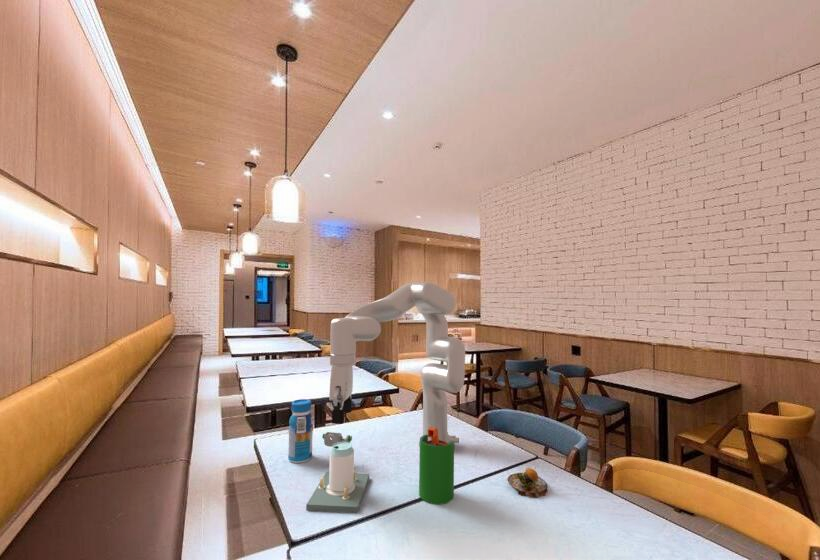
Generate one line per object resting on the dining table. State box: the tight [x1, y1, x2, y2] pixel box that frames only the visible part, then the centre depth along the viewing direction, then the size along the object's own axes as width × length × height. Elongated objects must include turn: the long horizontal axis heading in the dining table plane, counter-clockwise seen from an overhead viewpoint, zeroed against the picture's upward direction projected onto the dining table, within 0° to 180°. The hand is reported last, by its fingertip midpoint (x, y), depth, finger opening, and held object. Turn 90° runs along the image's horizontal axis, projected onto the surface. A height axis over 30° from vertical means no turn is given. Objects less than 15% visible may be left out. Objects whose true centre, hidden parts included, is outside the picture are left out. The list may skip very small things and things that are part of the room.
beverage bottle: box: [287, 398, 314, 464], centre depth 128 cm, size 8×8×20 cm
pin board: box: [305, 470, 370, 513], centre depth 105 cm, size 14×18×4 cm
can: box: [328, 442, 355, 492], centre depth 105 cm, size 7×7×12 cm
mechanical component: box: [321, 431, 353, 448], centre depth 123 cm, size 3×10×10 cm, turn 79°
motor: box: [418, 427, 455, 505], centre depth 105 cm, size 10×9×20 cm
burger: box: [506, 466, 549, 499], centre depth 109 cm, size 12×12×8 cm
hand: (342, 417), depth 106 cm, fingers open, 9 cm apart
